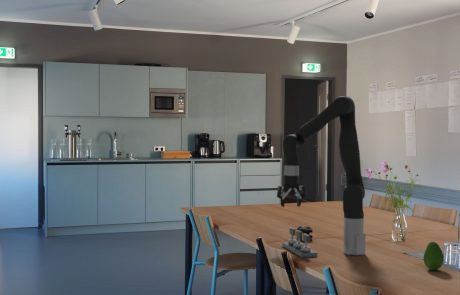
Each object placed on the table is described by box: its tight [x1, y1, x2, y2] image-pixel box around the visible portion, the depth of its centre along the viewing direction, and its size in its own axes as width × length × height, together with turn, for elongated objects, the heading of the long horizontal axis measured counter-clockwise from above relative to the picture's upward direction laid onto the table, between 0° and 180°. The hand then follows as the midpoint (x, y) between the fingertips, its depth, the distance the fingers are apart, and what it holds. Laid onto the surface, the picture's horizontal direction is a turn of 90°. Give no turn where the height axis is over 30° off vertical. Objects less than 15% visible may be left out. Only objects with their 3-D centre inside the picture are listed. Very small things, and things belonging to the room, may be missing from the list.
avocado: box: [423, 241, 445, 271], centre depth 233 cm, size 8×8×12 cm
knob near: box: [301, 234, 312, 251], centre depth 260 cm, size 6×4×8 cm
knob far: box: [287, 226, 298, 244], centre depth 277 cm, size 6×4×8 cm
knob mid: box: [294, 229, 305, 248], centre depth 268 cm, size 6×4×8 cm
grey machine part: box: [296, 225, 314, 242], centre depth 300 cm, size 10×7×7 cm
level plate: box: [281, 241, 318, 259], centre depth 268 cm, size 26×8×3 cm, turn 14°
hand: (290, 206), depth 279 cm, fingers open, 8 cm apart
